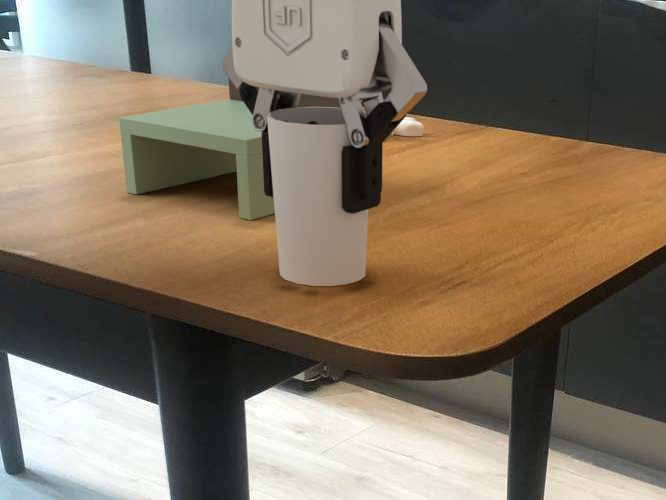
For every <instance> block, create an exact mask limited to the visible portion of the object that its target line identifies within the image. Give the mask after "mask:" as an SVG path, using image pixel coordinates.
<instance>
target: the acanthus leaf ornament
mask: <svg viewBox="0 0 666 500" xmlns="http://www.w3.org/2000/svg"><path fill="white" fill-rule="evenodd" d="M424 127H425V126H424V124H423V123H422V122H420V121H417V120H416V118H414V117H409V116H405V118H404V119H403V120H402V121H401V123H400V124H399V125H398V126H397V127H396V128H395V129H394V130H393V132H392V136H394V135H397V136H401V137H402V136H403V137H423V134H424V129H425V128H424Z"/></svg>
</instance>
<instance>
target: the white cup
mask: <svg viewBox="0 0 666 500" xmlns="http://www.w3.org/2000/svg"><path fill="white" fill-rule="evenodd" d="M363 112H364V115H365V118H366V117H367V115H366V112H365V110H363ZM281 120H282V121H281ZM284 121H288V122H284ZM267 122H268V135H269V147H270V159H271V171H272V184H273V196H274V208H275V213H274V218H275V232H276V241H277V243H276V244H277V257H278V268H279V276H280V277H282V279H284V280H285V281H288V282H290V283H294V284H297V285H304V286H308V287H309V286H310V287H337V286H345V285H349V284H353V283H357V282H359V281H361V280H362V279H364V278H365V277H366V269H367V250H368V249H367V247H368V229H369V210H370V209H367V210H364V211H360V212H357V213H354V214H352V213H347V212H345V211H344V209H343V208H342V150H343V147H344V146H349V145H352V144H351V142H350V139H349V136H348V132H347V128H346V125H345V121H344V118H343V114H342V110H341V108H335V107H298V108H287V109H280V110H276V111H275V112H270V113H268V115H267Z"/></svg>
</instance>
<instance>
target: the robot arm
mask: <svg viewBox="0 0 666 500" xmlns="http://www.w3.org/2000/svg"><path fill="white" fill-rule="evenodd" d="M402 18H403V17H402V0H231V38H232V39H231V40H232V41H231V43H232V44H231V45H232V46H231V47H230V49H229V50H228V52H227V54H226V55H225V57H224V59H223V61H222V69H223V71H224V74H226V76H227V77H229V79H230V80H231V81H232V83H233V84H234V86H235V87H236V88H237V90H239V91H240V97H241V99H242V100H243V102H244V103H245V105H246V106H247V108H248V109H249V111H250V112H251V114H252V115H253V117H252V123H253V126H254V128H255V129H256V130H257V131H259V132H262V154H263V177H264V193H265V195H266V196H270V197H274V196H273V184H272V171H271V159H270V147H269V135H268V122H267V115H268V113H270V112H275V111H276V110H280V109H287V108H297V107H298V103H299V99H300V95H301V94H307V95H314V96H321V97H330V98H338V100H339V103H340V107H341V110H342V114H343V118H344V121H345V125H346V128H347V132H348V136H349V139H350V142H351V144H352V145H349V146H344V147H343V150H342V208H343V209H344V211H345V212H347V213H352V214H354V213H357V212H360V211H364V210H367V209H369V210H370V209H373V208H377V207H379V205H380V204H381V201H382V195H381V194H382V191H383V143H387V142H389V141H390V139H391V138H392V136H393V135H392V132H393V130H394V129H395V128H396V127H397V126H398V125H399V124H400V123H401V121H402V120H403V119H404V118H405V117H407V114H408V112H410V111H412V109H413V108H414V107H415V106H416V105H417V104H418V103H419V102H420V101H421V100H422V99H423V98H424V96H426V94H427V92H428V85H427V83H426V81H425V79H424V77H423V76H422V74H421V72H420V71H419V69H418V68H417V66H416V64H415V63H414V61H413V60H412V58H411V57H410V55H409V53H408V52H407V50H406V49H405V47H404V46H403V23H402ZM229 79H228V80H229ZM388 90H390V92H388V94H387V95H386V97H385V99H384V97H383V96H384V95H383V92H384V91H388ZM279 94H280V97H279V100H278V95H279ZM362 104H363V105H362ZM363 107H364V108H363ZM363 111H364V112H366V115H367V117H366V118H365V115H364V112H363ZM281 121H282V120H281ZM284 122H288V121H284Z"/></svg>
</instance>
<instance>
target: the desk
mask: <svg viewBox="0 0 666 500" xmlns="http://www.w3.org/2000/svg"><path fill="white" fill-rule="evenodd" d="M227 77H228V76H227ZM228 96H229V99H226V100H225V99H224V100H223V99H222V100H218V101H212V102H206V103H199V104H193V105H192V104H191V105H186V106H180V107H174V108H169V109H162V110H155V111H150V112H143V113H138V114H130V115H125V116H120V117H118V121H119V130H120V131H119V132H120V139H121V149H122V159H123V160H122V161H123V168H124V169H123V171H124V180H125V187H126V188H125V189H126V193H128V194H131V195H136V196H137V195H140V194H146V193H149V192H154V191H158V190H163V189H166V188H172V187H176V186H180V185H184V184H185V185H186V184H188V183H193V182H197V181H202V180H207V179H211V178H214V177H215V178H216V177H218V176H222V175H228V174H231V173H236V179H237V181H236V182H237V201H238V217H239V218H240V219H242V220H248V221H253V220H256V219H260V218H263V217H267V216H271V215H275V208H274V197H270V196H266V195H265V193H264V177H263V154H262V132H259V131H257V130H256V129H255V128H254V126H253V123H252V117H253V115H252V114H251V112H250V111H249V109H248V108H247V106H246V105H245V103H244V102H243V100H242V99H241V97H240V91H239V90H237V88H236V87H235V86H234V84H233V83H232V81H231V80H230V79H229V77H228ZM279 97H280V94H279V95H278V100H279ZM298 107H335V108H341V107H340V103H339V100H338V98H330V97H321V96H314V95H307V94H301V95H300V99H299V103H298ZM298 107H297V108H298Z"/></svg>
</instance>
